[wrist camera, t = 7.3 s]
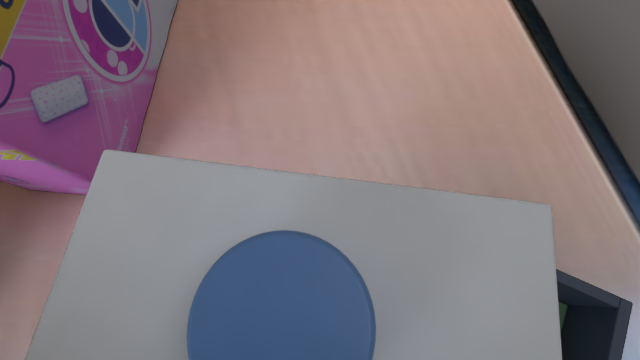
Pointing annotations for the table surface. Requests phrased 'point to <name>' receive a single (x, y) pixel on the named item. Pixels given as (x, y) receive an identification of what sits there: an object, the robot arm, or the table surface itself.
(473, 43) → the table surface
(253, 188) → the carton
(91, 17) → the gum box
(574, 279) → the caddy
